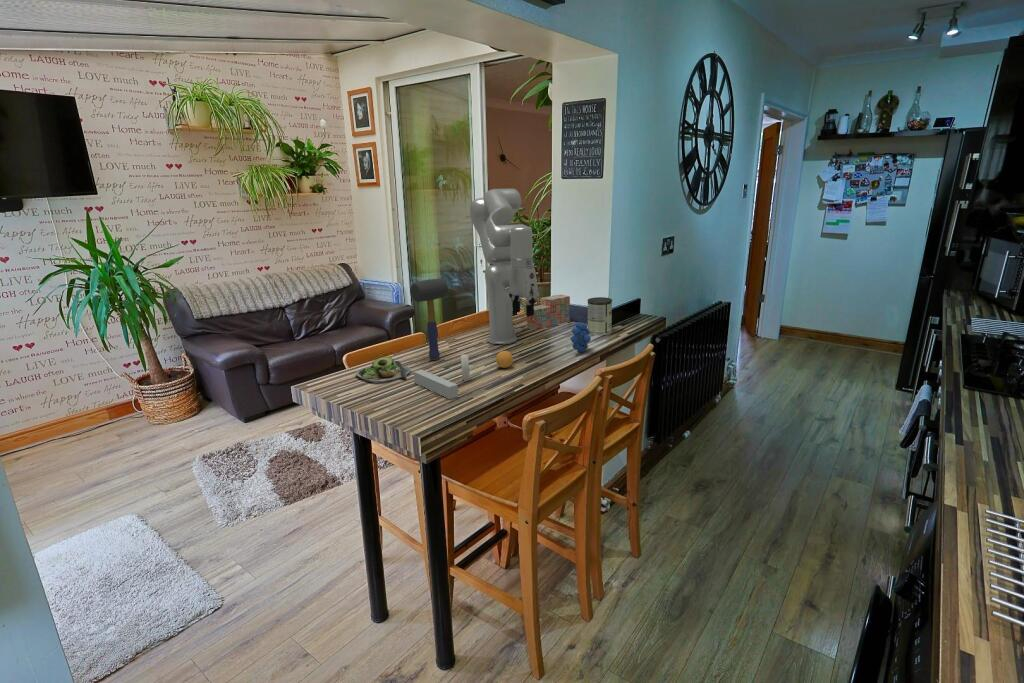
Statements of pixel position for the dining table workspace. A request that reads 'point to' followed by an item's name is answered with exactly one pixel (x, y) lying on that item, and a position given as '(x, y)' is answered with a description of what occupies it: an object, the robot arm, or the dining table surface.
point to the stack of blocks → (550, 312)
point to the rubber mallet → (430, 308)
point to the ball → (504, 359)
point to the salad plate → (383, 370)
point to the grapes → (580, 337)
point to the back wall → (436, 384)
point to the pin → (465, 367)
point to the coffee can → (599, 315)
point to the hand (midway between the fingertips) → (523, 313)
